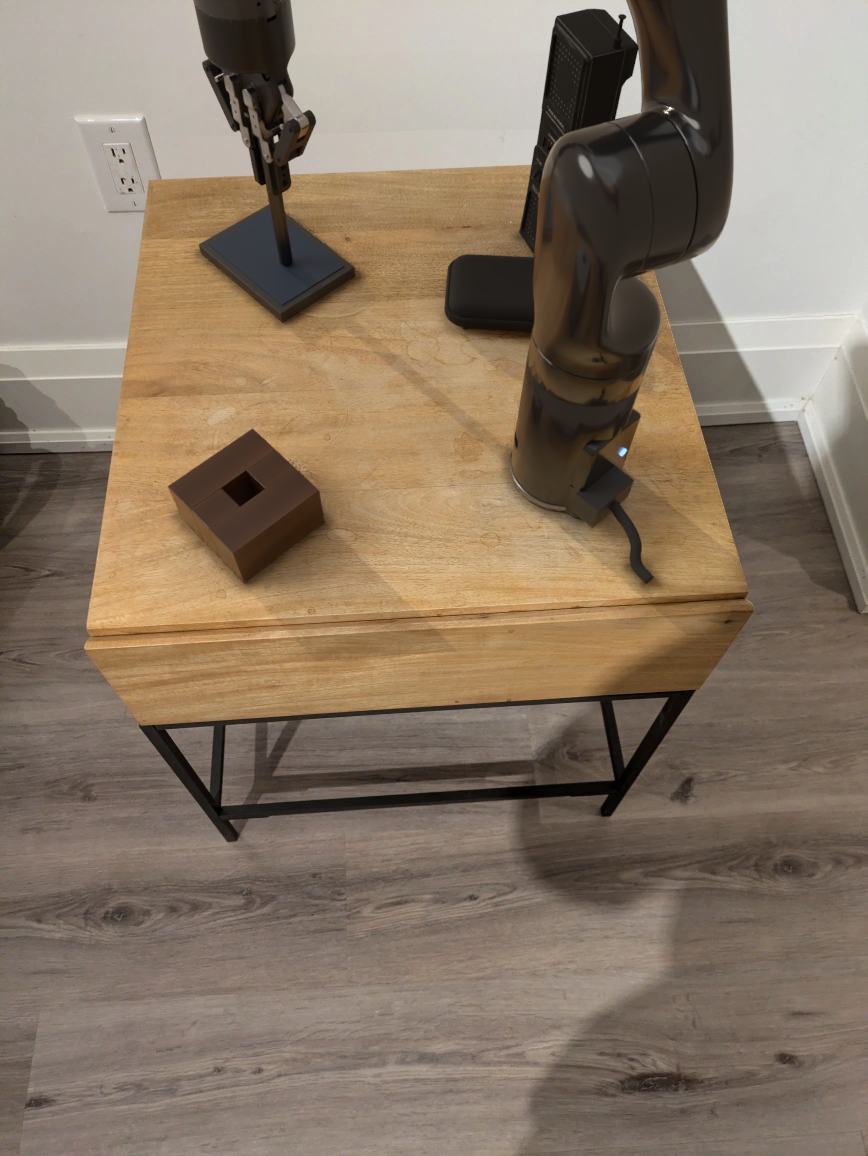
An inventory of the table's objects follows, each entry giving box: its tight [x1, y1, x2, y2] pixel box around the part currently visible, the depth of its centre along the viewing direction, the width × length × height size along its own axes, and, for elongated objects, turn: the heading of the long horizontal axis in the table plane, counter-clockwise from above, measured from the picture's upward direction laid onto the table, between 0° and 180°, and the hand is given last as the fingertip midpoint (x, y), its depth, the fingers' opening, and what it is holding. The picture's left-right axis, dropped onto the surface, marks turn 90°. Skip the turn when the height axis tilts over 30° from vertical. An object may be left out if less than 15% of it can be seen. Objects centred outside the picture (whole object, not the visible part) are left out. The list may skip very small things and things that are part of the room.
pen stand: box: [167, 428, 326, 584], centre depth 73 cm, size 9×9×5 cm
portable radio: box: [518, 8, 639, 255], centre depth 82 cm, size 8×6×25 cm
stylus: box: [257, 136, 293, 266], centre depth 83 cm, size 2×2×14 cm
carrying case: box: [443, 253, 534, 334], centre depth 87 cm, size 11×3×15 cm
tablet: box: [198, 203, 356, 323], centre depth 90 cm, size 14×10×1 cm
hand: (273, 185), depth 81 cm, fingers closed on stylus, 1 cm apart
